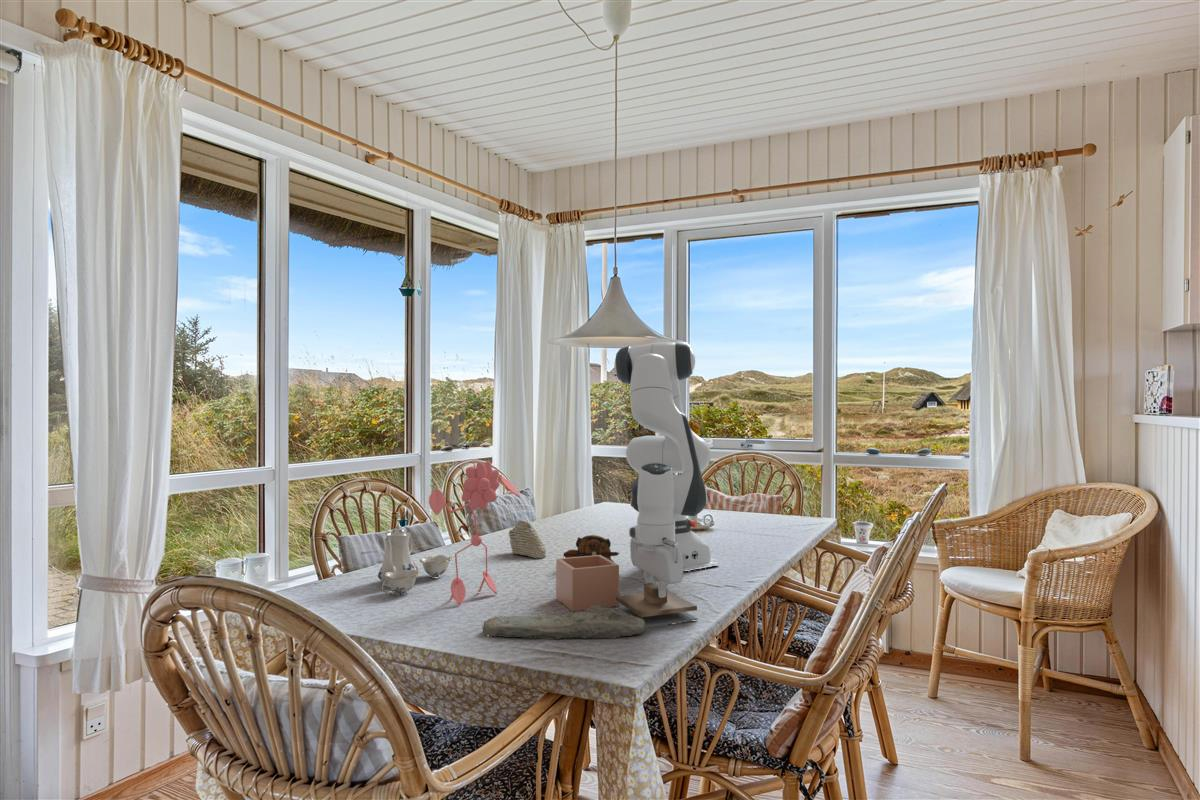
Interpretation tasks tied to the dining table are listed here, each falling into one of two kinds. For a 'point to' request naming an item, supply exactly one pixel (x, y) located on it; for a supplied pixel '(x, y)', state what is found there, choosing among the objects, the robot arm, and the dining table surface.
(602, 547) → the wooden carving
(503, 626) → the long grey stone
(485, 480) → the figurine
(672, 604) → the walnut lid
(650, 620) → the grey mat
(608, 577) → the terracotta box
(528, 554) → the fossil tooth
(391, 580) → the chinaware
